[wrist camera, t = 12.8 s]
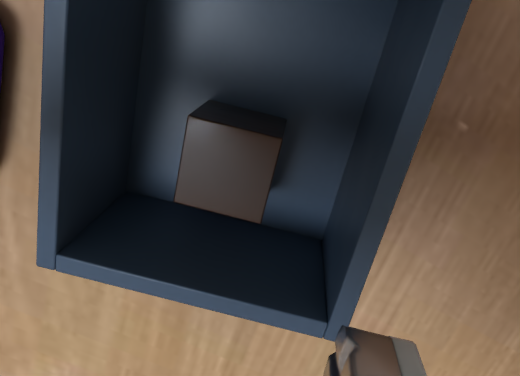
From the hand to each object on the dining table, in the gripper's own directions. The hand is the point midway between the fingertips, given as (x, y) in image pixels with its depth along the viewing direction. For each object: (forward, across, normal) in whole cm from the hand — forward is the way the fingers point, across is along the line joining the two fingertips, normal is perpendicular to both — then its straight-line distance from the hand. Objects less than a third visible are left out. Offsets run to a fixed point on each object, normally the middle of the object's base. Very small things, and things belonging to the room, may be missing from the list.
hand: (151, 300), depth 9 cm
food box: (+14, 0, -3) cm, 14 cm away
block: (+13, 0, 0) cm, 13 cm away
